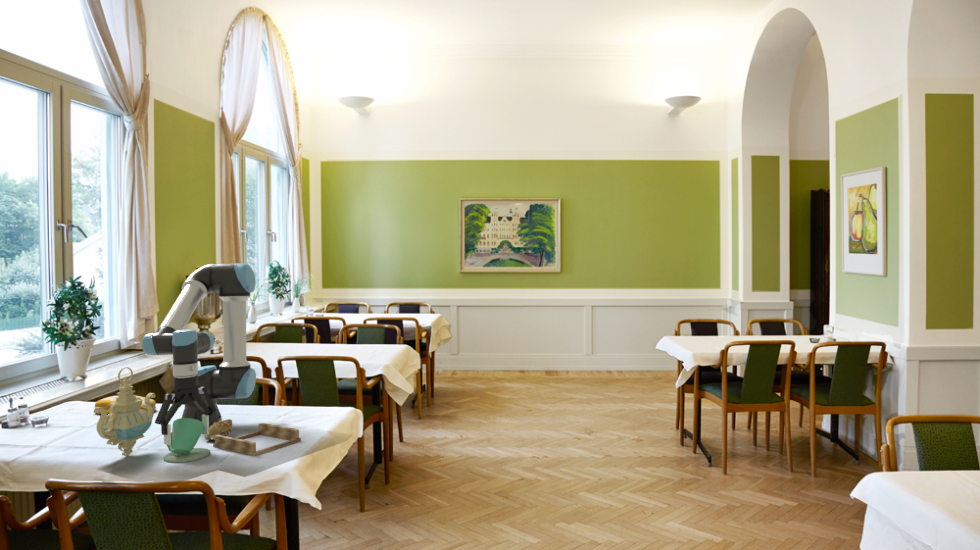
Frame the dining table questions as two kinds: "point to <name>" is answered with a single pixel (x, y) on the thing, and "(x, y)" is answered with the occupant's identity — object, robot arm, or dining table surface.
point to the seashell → (219, 429)
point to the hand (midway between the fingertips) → (187, 439)
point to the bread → (106, 401)
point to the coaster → (187, 456)
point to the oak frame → (250, 447)
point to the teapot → (125, 418)
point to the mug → (185, 435)
